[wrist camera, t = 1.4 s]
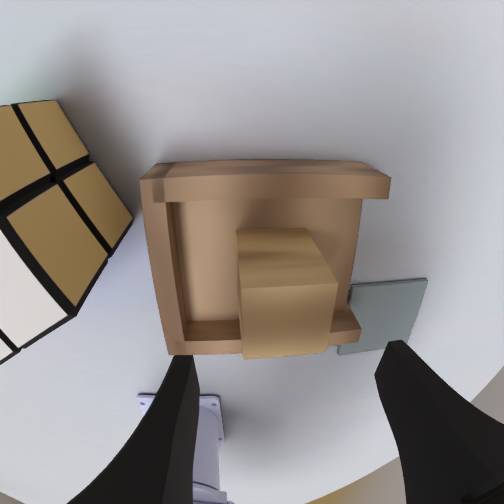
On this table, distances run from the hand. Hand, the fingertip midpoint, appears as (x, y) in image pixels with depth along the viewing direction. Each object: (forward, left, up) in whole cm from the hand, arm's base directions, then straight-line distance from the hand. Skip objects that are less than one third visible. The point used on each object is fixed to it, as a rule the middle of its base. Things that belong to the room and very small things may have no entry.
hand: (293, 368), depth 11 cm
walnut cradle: (0, 0, -11) cm, 11 cm away
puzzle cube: (+4, +15, -11) cm, 19 cm away
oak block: (0, 0, -9) cm, 9 cm away
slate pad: (-7, -10, -11) cm, 17 cm away
